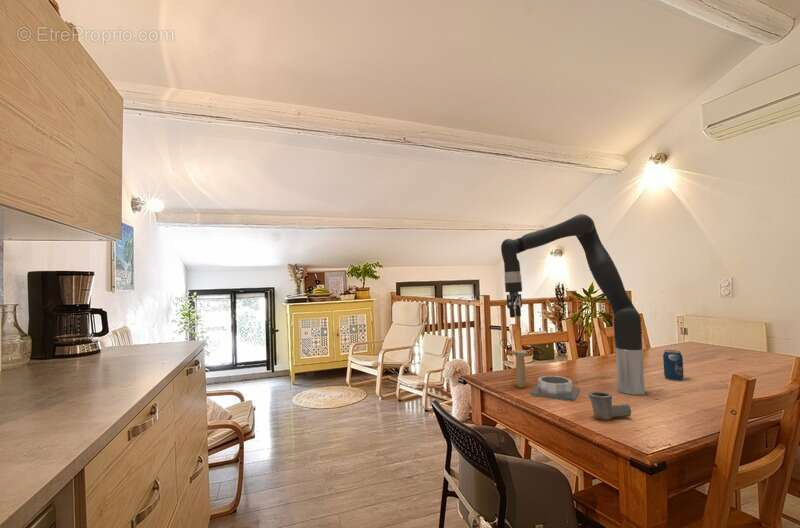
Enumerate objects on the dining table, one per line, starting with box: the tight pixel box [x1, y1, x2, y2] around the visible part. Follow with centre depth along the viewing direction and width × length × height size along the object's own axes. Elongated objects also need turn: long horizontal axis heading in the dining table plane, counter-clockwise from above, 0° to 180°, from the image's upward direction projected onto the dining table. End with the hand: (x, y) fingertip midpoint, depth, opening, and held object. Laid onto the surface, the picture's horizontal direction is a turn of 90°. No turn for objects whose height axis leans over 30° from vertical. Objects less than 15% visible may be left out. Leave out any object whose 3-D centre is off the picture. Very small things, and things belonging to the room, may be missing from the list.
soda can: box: [662, 349, 685, 381], centre depth 165 cm, size 7×7×12 cm
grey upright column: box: [511, 349, 529, 388], centre depth 161 cm, size 5×6×15 cm
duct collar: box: [529, 375, 580, 402], centre depth 152 cm, size 16×16×5 cm
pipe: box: [587, 391, 632, 421], centre depth 124 cm, size 6×13×8 cm, turn 89°
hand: (515, 316), depth 174 cm, fingers open, 8 cm apart
